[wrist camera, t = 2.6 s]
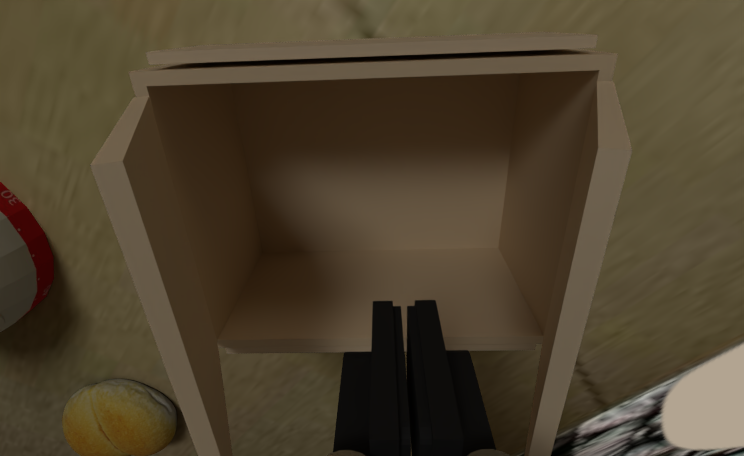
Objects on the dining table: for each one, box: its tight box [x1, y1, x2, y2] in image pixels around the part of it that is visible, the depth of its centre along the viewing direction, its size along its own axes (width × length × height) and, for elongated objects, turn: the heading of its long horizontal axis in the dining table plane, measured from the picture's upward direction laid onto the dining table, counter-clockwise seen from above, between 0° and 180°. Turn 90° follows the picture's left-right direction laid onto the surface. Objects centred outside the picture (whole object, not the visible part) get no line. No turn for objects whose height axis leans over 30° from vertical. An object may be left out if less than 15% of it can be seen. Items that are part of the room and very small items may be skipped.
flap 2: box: [524, 81, 632, 456], centre depth 13 cm, size 1×11×9 cm, turn 3°
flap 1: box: [90, 96, 233, 456], centre depth 13 cm, size 1×11×9 cm, turn 3°
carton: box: [129, 32, 618, 354], centre depth 21 cm, size 17×14×9 cm
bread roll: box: [62, 379, 177, 456], centre depth 34 cm, size 8×9×4 cm
